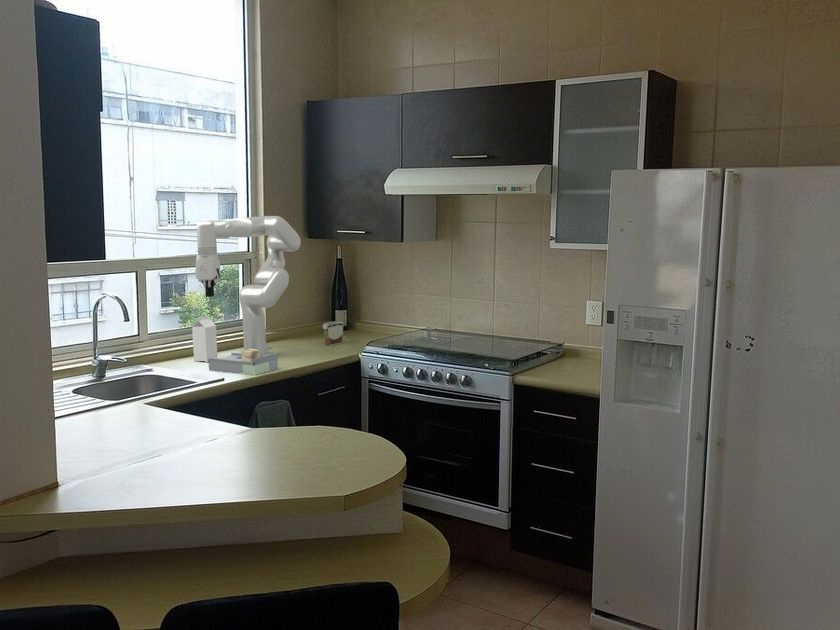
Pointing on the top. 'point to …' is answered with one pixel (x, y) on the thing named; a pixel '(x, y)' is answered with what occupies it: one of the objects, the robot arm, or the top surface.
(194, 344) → the milk carton
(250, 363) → the two-pit board
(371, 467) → the top surface
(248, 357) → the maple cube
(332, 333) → the food container
